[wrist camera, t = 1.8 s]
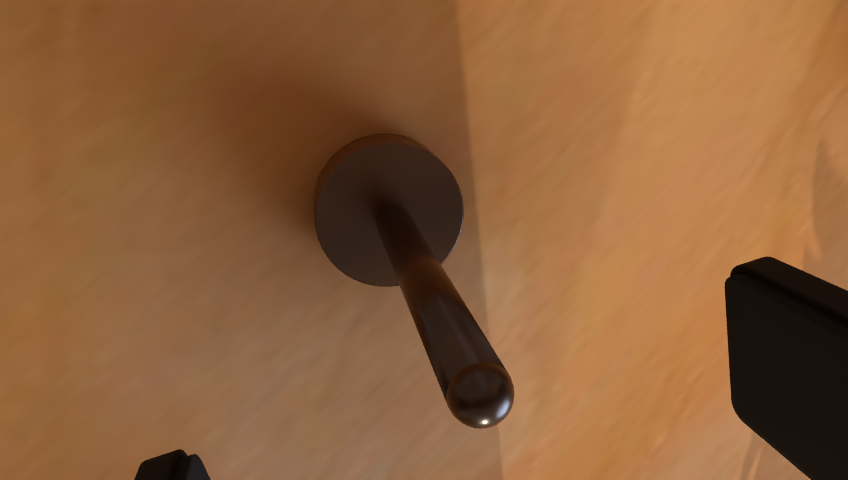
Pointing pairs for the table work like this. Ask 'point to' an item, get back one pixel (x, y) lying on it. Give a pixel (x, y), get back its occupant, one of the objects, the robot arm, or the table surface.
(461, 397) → the plunger
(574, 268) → the table surface
